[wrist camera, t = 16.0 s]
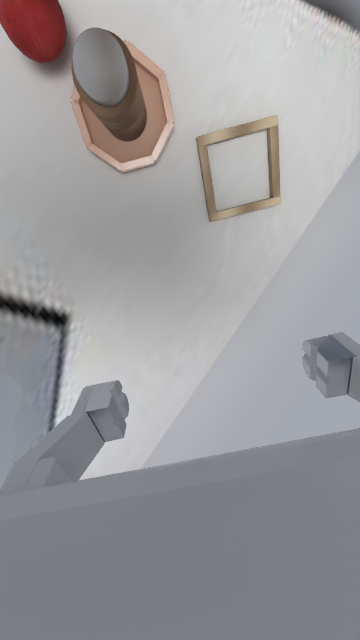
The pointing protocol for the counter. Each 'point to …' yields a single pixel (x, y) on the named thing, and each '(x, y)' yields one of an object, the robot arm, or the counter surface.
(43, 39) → the onion
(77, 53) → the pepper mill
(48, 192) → the counter surface
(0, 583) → the robot arm
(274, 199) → the holder frame
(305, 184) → the counter surface
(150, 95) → the dish
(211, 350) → the counter surface
